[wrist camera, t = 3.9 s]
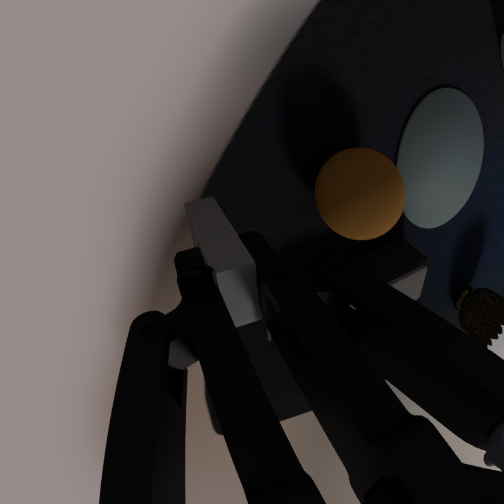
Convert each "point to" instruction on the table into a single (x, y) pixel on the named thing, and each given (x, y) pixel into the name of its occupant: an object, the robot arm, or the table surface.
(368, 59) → the table surface
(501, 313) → the dark brown rounded lump
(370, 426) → the robot arm
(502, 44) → the white cup
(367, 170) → the ball
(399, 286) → the calculator
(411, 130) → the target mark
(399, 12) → the table surface
